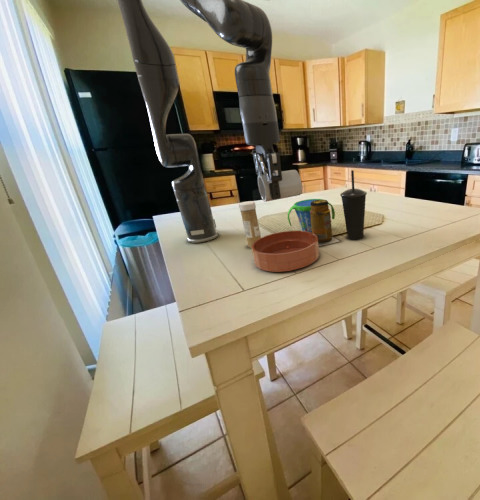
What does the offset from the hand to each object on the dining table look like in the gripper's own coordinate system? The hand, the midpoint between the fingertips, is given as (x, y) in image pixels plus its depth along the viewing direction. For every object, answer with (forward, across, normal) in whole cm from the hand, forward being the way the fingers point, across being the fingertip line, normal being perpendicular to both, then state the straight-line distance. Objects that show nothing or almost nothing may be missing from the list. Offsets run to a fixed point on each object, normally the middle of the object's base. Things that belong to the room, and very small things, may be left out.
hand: (271, 195), depth 66 cm
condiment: (+18, -4, +15) cm, 23 cm away
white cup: (-2, 0, +7) cm, 7 cm away
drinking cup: (+17, 0, +24) cm, 30 cm away
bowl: (+17, +2, +1) cm, 17 cm away
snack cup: (+18, -14, +16) cm, 28 cm away
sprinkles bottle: (+18, -14, -4) cm, 23 cm away
